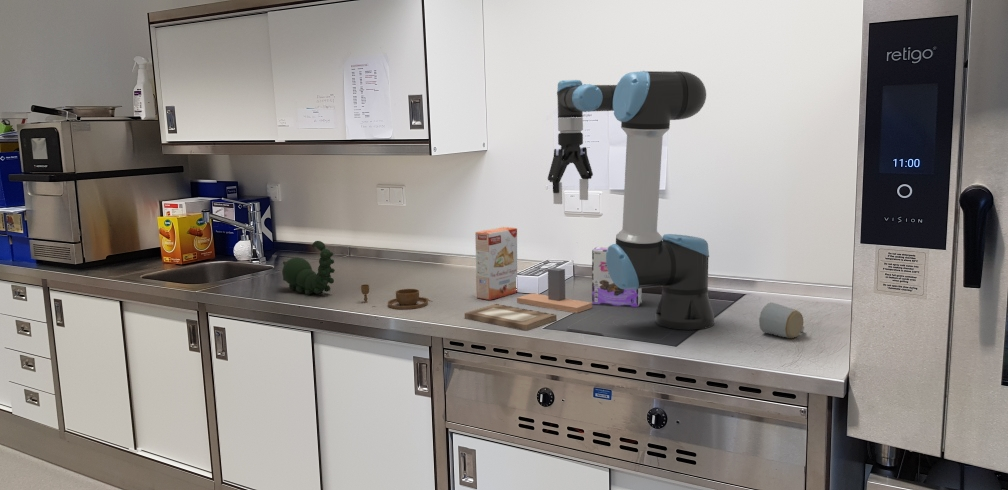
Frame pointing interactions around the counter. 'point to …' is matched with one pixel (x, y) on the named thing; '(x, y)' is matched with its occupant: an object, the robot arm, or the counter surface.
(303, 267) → the toy figurine
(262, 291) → the counter surface
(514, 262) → the cracker box
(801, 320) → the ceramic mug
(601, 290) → the candy box
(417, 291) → the place setting
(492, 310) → the board
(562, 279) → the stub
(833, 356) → the counter surface
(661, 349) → the counter surface
